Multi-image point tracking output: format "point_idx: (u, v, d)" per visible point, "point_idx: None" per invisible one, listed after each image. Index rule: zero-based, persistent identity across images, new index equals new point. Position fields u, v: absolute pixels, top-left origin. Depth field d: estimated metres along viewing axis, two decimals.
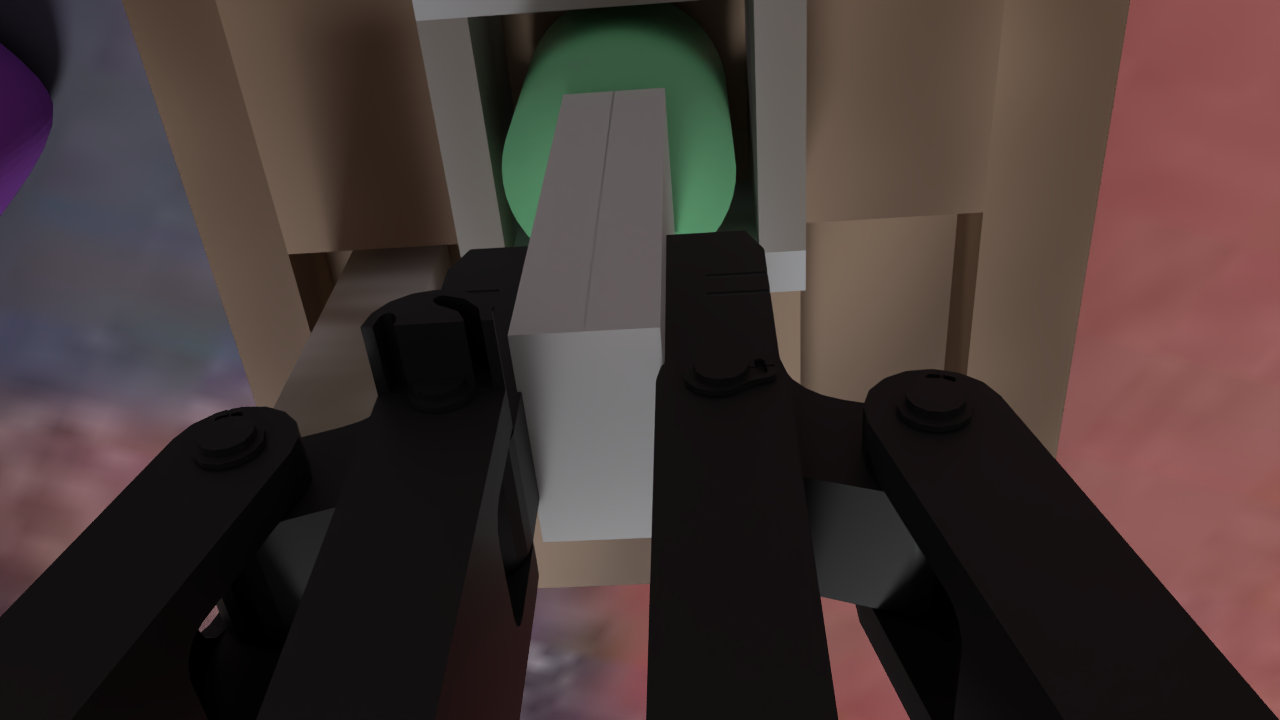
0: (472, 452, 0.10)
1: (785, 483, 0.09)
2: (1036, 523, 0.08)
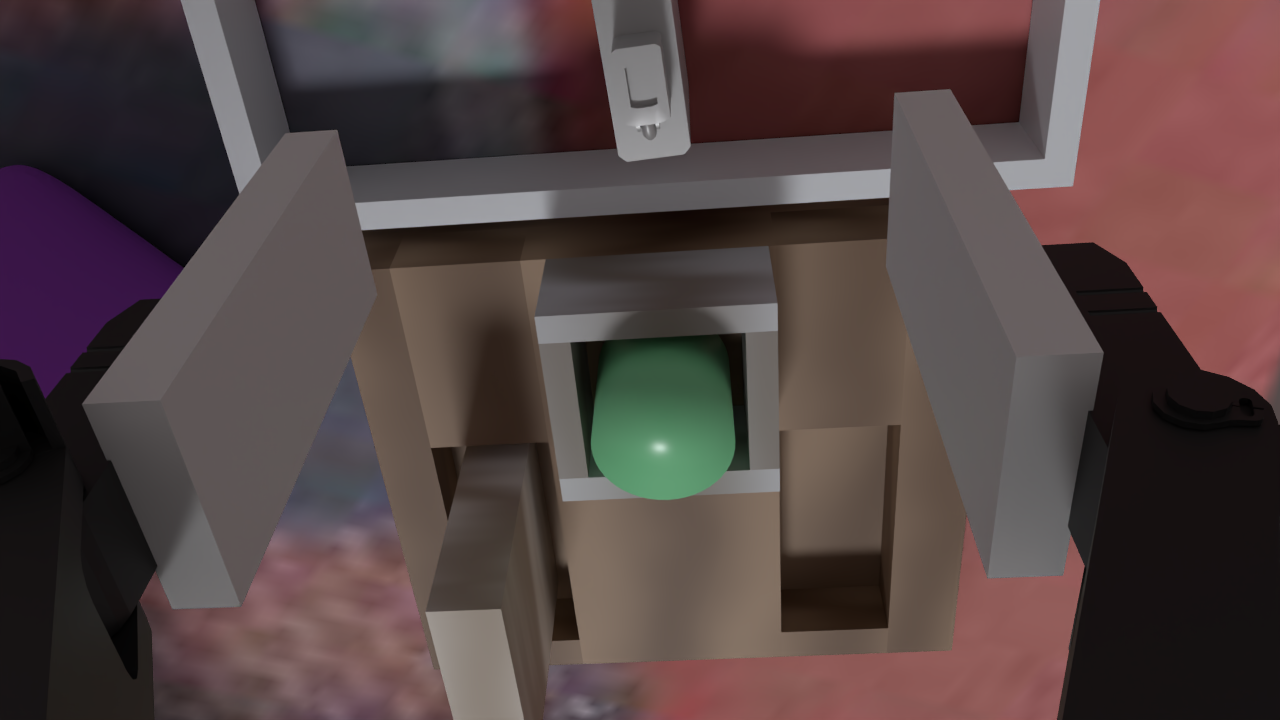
0: (39, 513, 0.09)
1: (1257, 541, 0.08)
2: None
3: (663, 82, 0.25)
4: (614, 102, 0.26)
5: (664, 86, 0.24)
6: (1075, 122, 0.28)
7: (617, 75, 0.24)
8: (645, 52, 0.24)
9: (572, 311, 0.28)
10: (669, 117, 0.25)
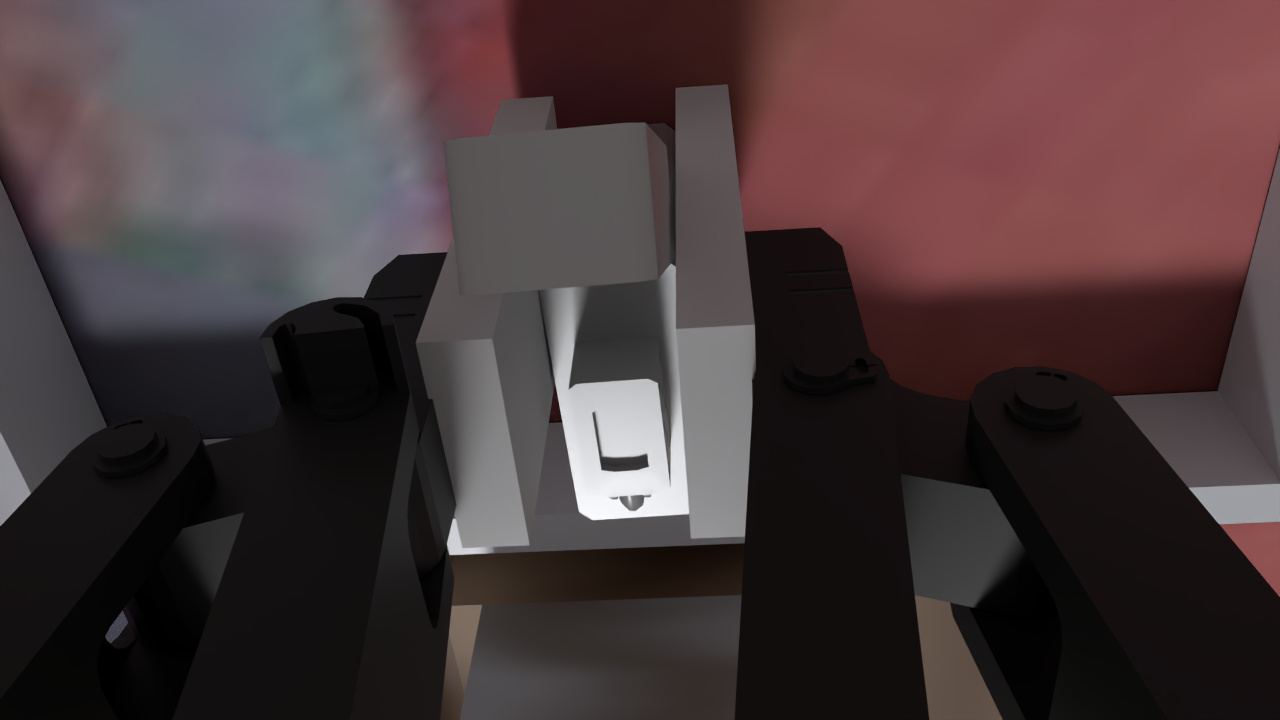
0: (379, 456, 0.10)
1: (883, 485, 0.09)
2: (1146, 525, 0.08)
3: (659, 431, 0.14)
4: (574, 437, 0.15)
5: (662, 442, 0.14)
6: None
7: (579, 422, 0.14)
8: (630, 390, 0.13)
9: None
10: (669, 485, 0.14)
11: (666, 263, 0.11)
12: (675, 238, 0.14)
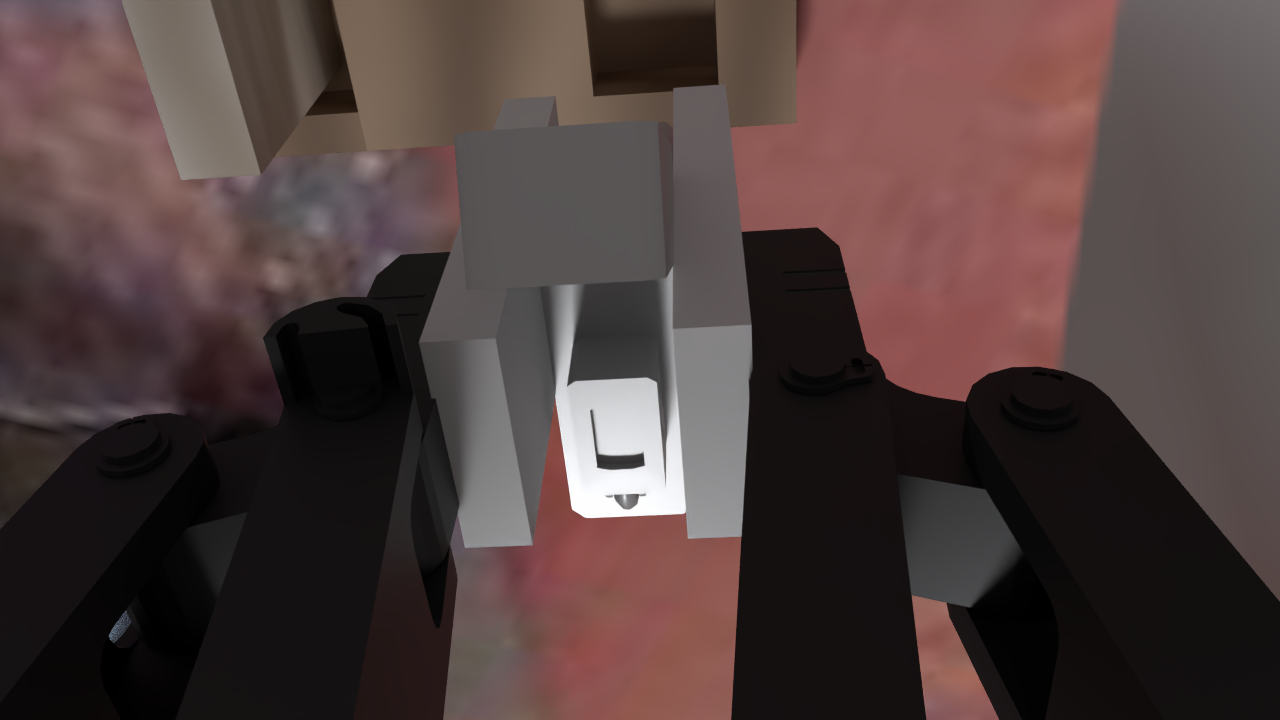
0: (382, 456, 0.10)
1: (879, 485, 0.09)
2: (1142, 526, 0.08)
3: (656, 431, 0.14)
4: (569, 434, 0.15)
5: (659, 442, 0.14)
6: None
7: (576, 420, 0.14)
8: (629, 389, 0.13)
9: None
10: (664, 484, 0.14)
11: (671, 262, 0.11)
12: None
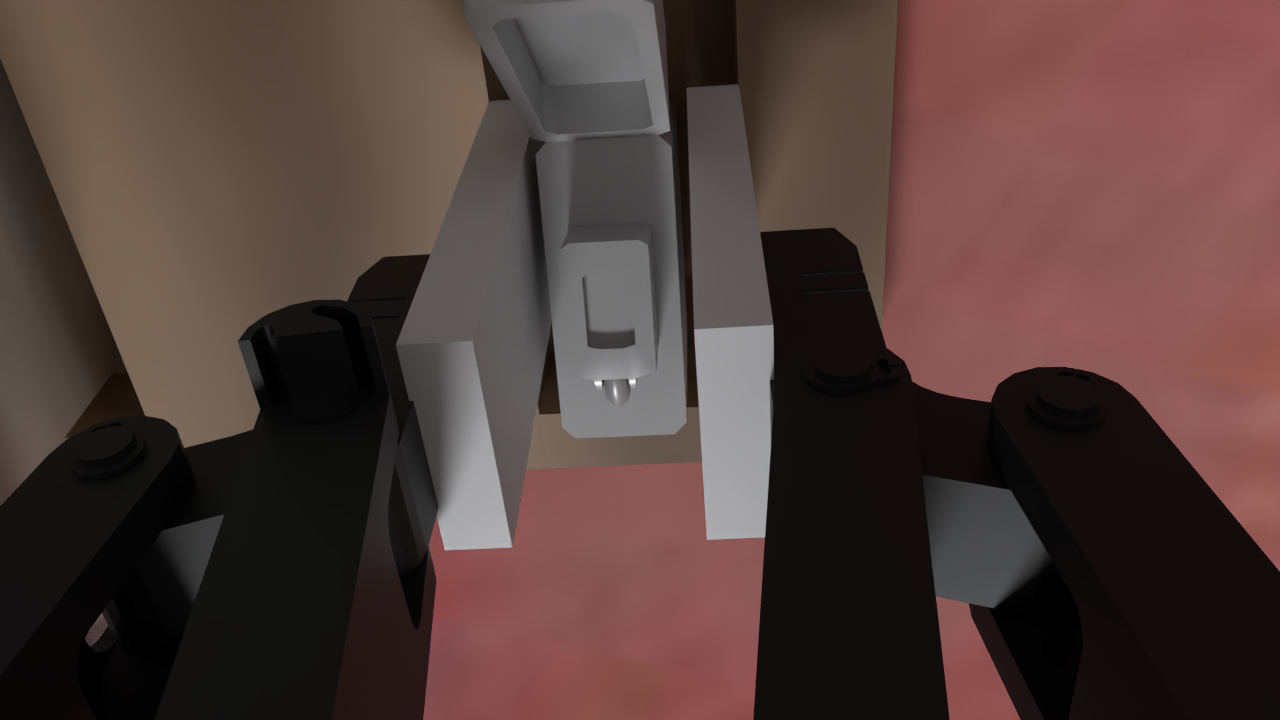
0: (359, 458, 0.10)
1: (905, 486, 0.09)
2: (1168, 527, 0.08)
3: (647, 307, 0.14)
4: (562, 337, 0.15)
5: (649, 315, 0.14)
6: None
7: (568, 289, 0.14)
8: (621, 253, 0.14)
9: None
10: (654, 370, 0.14)
11: (661, 59, 0.12)
12: (670, 136, 0.15)
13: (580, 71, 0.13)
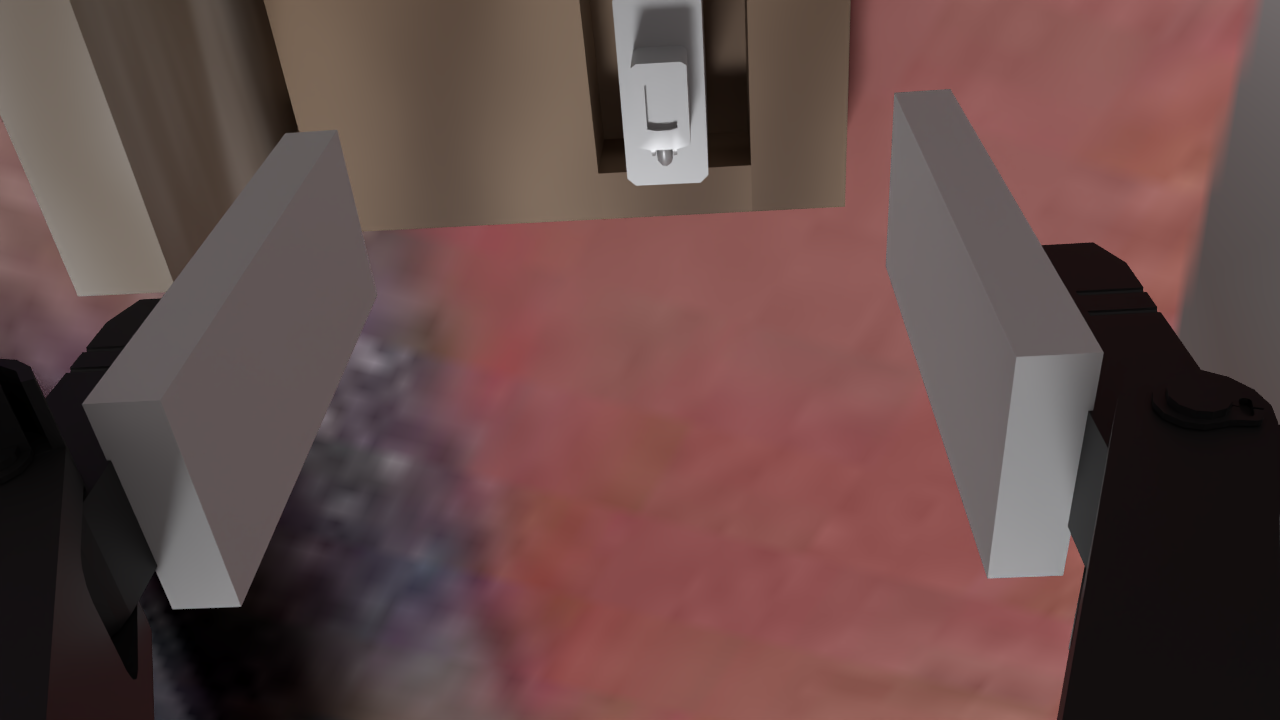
0: (39, 514, 0.09)
1: (1257, 541, 0.08)
2: None
3: (685, 104, 0.22)
4: (628, 120, 0.23)
5: (686, 109, 0.22)
6: None
7: (635, 93, 0.22)
8: (669, 70, 0.21)
9: None
10: (689, 143, 0.22)
11: None
12: None
13: None
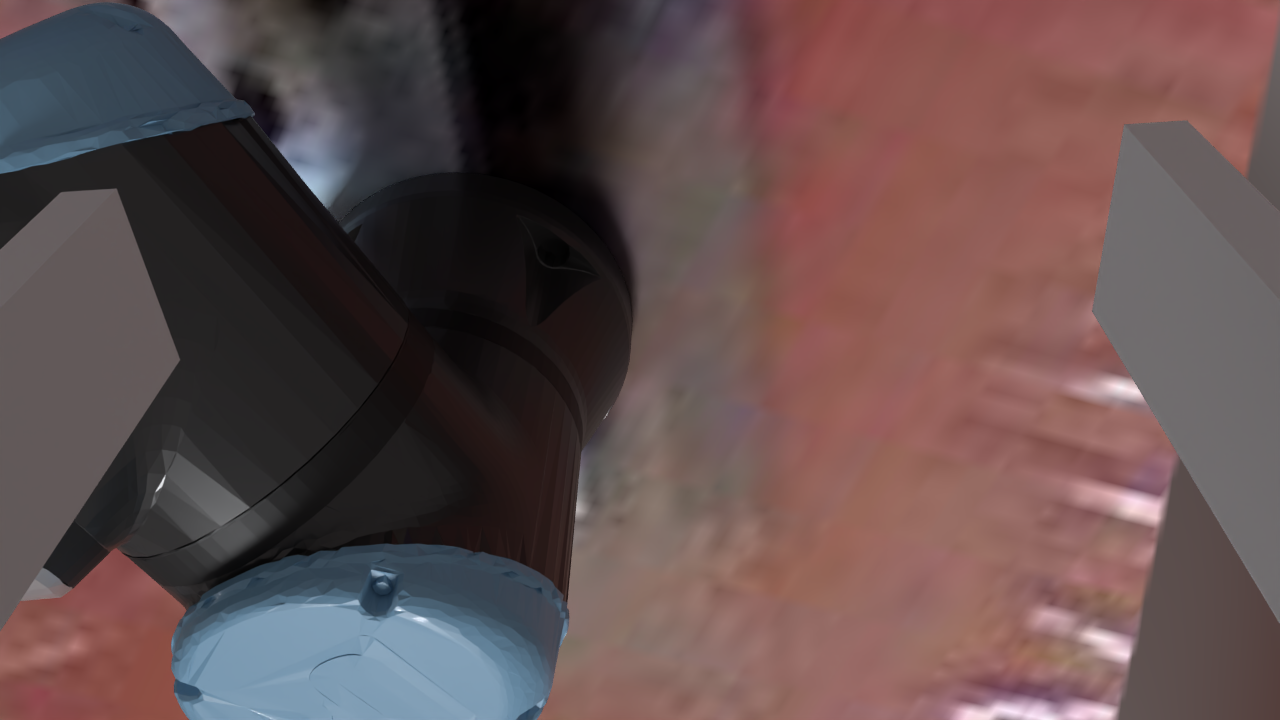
0: None
1: None
2: None
3: None
4: None
5: None
6: None
7: None
8: None
9: None
10: None
11: None
12: None
13: None
